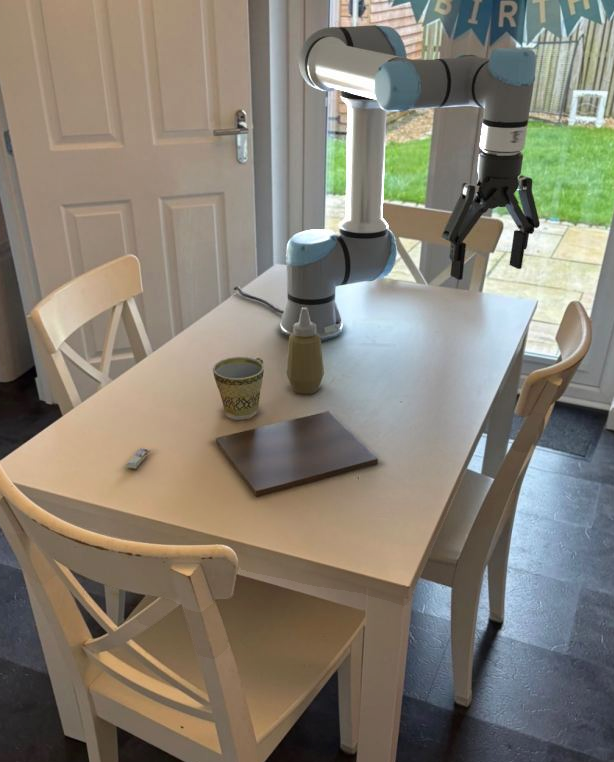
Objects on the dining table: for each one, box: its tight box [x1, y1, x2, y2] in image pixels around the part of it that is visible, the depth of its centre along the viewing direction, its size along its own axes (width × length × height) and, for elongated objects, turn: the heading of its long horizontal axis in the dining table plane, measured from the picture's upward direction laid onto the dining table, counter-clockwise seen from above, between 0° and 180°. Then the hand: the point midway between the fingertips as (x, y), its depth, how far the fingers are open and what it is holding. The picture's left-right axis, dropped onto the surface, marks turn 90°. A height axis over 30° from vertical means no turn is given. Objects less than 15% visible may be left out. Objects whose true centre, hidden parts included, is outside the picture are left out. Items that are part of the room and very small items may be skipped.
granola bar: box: [123, 448, 152, 469], centre depth 143 cm, size 7×2×1 cm, turn 165°
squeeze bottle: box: [285, 307, 325, 395], centre depth 163 cm, size 8×8×18 cm
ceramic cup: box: [212, 356, 265, 421], centre depth 157 cm, size 13×10×10 cm
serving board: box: [215, 410, 379, 498], centre depth 146 cm, size 20×24×1 cm
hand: (486, 272), depth 147 cm, fingers open, 13 cm apart
